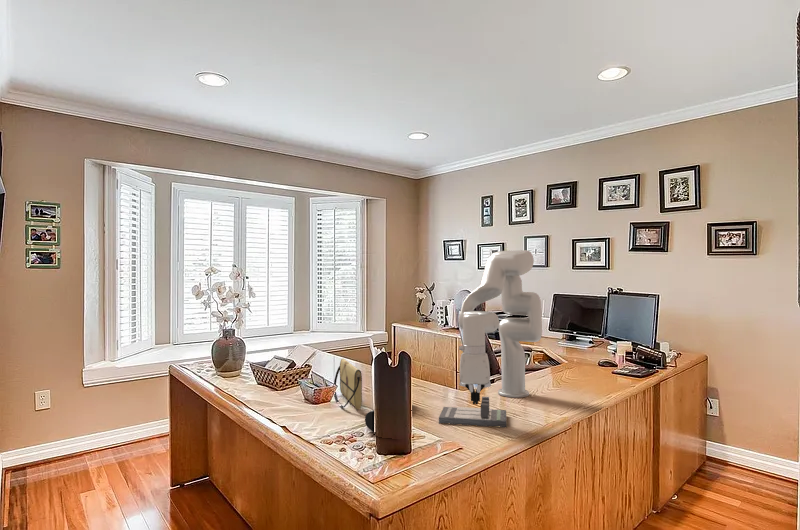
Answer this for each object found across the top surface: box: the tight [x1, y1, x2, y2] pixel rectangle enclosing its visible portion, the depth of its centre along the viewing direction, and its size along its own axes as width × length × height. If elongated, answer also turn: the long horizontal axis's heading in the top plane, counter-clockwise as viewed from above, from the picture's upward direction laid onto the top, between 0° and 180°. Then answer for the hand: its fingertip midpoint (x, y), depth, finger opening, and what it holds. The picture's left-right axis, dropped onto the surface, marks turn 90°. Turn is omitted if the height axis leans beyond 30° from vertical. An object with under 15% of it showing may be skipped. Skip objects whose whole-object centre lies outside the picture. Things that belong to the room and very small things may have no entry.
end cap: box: [364, 409, 375, 434], centre depth 150 cm, size 10×7×7 cm
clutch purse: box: [333, 358, 363, 411], centre depth 184 cm, size 30×7×15 cm, turn 19°
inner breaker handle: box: [481, 396, 490, 401], centre depth 163 cm, size 2×2×4 cm
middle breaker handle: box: [481, 399, 490, 414], centre depth 158 cm, size 2×2×4 cm
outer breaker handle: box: [480, 402, 488, 418], centre depth 154 cm, size 2×2×4 cm
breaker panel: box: [438, 406, 507, 428], centre depth 159 cm, size 13×22×2 cm, turn 77°
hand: (475, 403), depth 160 cm, fingers closed
